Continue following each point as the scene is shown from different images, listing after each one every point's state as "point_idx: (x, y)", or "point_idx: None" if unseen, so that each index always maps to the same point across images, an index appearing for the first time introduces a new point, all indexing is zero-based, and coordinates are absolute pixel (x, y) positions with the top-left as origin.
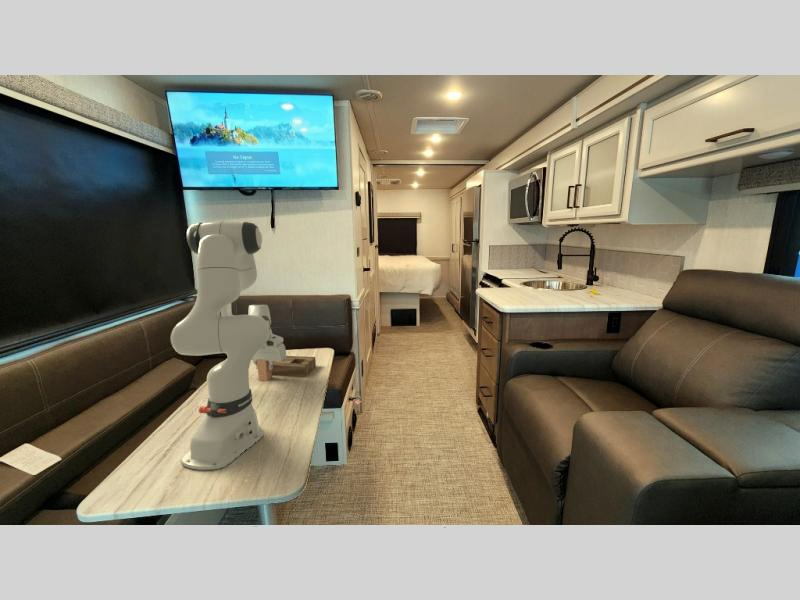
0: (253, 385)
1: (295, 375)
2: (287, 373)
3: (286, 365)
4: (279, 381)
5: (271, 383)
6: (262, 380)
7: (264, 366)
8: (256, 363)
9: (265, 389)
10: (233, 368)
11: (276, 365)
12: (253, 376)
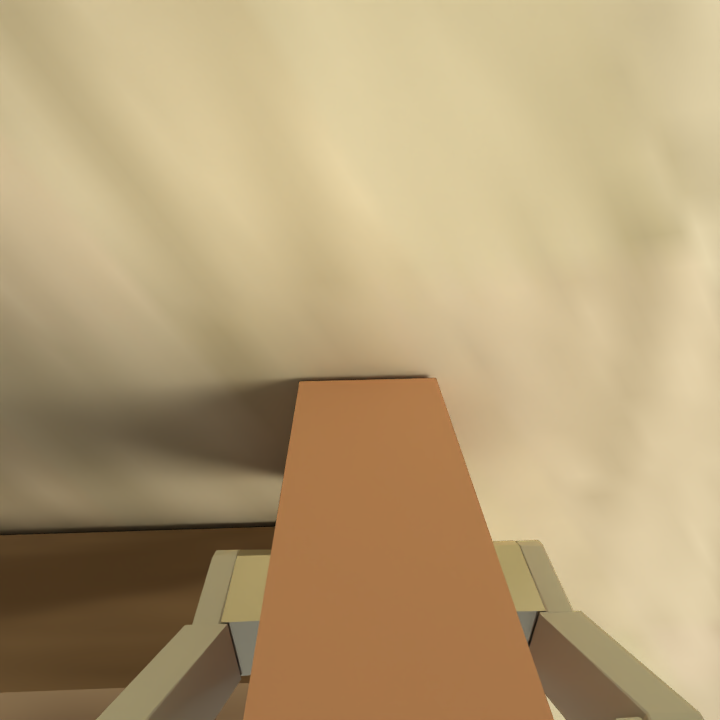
0: (437, 223)
1: (4, 545)
2: (111, 562)
3: (59, 696)
4: (119, 400)
5: (187, 329)
6: (378, 382)
7: (302, 603)
8: (589, 680)
9: (110, 96)
10: None
11: (243, 678)
12: (581, 473)
